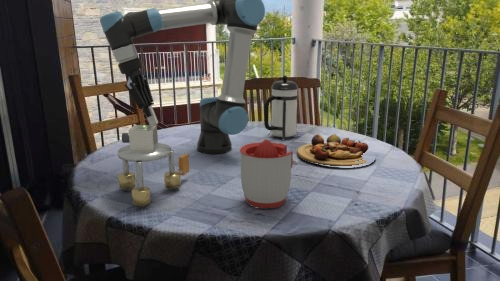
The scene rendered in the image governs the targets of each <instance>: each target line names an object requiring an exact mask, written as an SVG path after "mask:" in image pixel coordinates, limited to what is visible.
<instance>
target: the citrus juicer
mask: <svg viewBox="0 0 500 281" xmlns="http://www.w3.org/2000/svg"><path fill="white" fill-rule="evenodd" d="M239 150H240V151H239V152H240V181H241V186H242V187H241V188H242V191H243V196H244V198H245V201H246V203H247V204H248V205H249V204H250V205H249V206H251V205H252V206H251V207H253V206H254V207H253V208H255V207H258V208H257V209H262V208H271V209H276V208H279V207H282V206H283V205H284V204H285V202H286V200H287V198H288V193H289V190H290V187H291V180H292V179H291V178H292V168H293V166H298V162H297V161H295V160H294V158H293V152H294V150H292V151H291V150H290V151H288V146H287V145H286V144H283V143H280V142H279V143H278V142H271V141H270V140H269V139H264V140H263V141H261V142H252V143H247V144H244V145H242V146H241V147H240V149H239ZM283 203H284V204H283ZM282 204H283V205H282ZM275 207H276V208H275Z"/></svg>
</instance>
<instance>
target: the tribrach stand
mask: <svg viewBox="0 0 500 281" xmlns="http://www.w3.org/2000/svg"><path fill="white" fill-rule="evenodd" d="M158 138H159V137H158V124H155V125H150V124H134V125H133V126H132V127H131V128H130V129H129V130H128V132H122V134H121V142H122V143H125V144H128V145H125V146H122V147H121V148H119V149H118V150H117V157H118V158H119V159H121V160H122V161H121V162H122V170H123V172H120V173H119V174H117V178H118V187H119V189H122V190H125V192H130V191H131V199H132V205H133V206H138V208H139V209H143V208H145V207H146V206H147V205H149V204H150V203H151V202H152V200H151V188H150V187H149V186H145V183H144V173H143V172H144V170H143V162H150V161H157V160H162V159H164V158H167V157H168V156H169V155H170V154H171V150H172V147H171V146H170V145H169V144H167V143H162V142H159V139H158ZM129 162H134V163H135V171H136V172H132V171H130V165H129Z"/></svg>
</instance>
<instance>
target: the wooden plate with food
mask: <svg viewBox="0 0 500 281" xmlns="http://www.w3.org/2000/svg"><path fill="white" fill-rule="evenodd" d="M324 142H325V140H324V137H323V136H322V135H320V133H317V134H315V135H313V137H312V138H311V142H310V143H306V144H303V145H301V146H300V147H298V148H297V151H296V155H297V157H298V158H299V157H300V158H299V159H301V158H302V159H304V160H306V161H309V162H313V163H318V164H323V165H330V166H352V165H359V164H363V163H366V162H367V161H366V160H362V159H363V157H362V156H361V155H363V153H365V152H366V151H367V150H369V145H368V144H367V143H366V142H361V141H360V140H358V142H357V141H356V140H352V139H350V138H349V137H344V138H342V140H341V138H340V136H338V135H337V134H336V133H333V134H331V135H330V136H328V137H327V139H326V142H327V143H324ZM302 159H301V160H302ZM304 160H303V161H304ZM359 160H362V161H359ZM306 161H305V162H306ZM355 161H358V162H355Z"/></svg>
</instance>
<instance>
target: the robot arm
mask: <svg viewBox="0 0 500 281" xmlns="http://www.w3.org/2000/svg"><path fill="white" fill-rule="evenodd" d="M265 15H266V8H265V3H264V2H263V0H207V1H206V3H198V4H190V5H183V6H181V5H180V6H173V7H165V8H158V9H157V8H156V7H152V8H147V9H143V10H141V11H130V12H127V13H125V14H123V13H122V12H121V11H114V12H109V13H106V14H105V15H103V16H101V17H100V19H99V22H100V25H101V28H102V33H103V34H104V35H105V38H106V40H107V43H108V45H109V47H110V49H111V51H112V56H113V57H114V59H115V62H116V63H118V64H117V67H118V69H119V71H120V74H122V75H125V76H126V81H127V83H125V85H124V86H125V89H127V91H128V92H129V94H130V95H131V97H132V99H133V101H134V102H135V104H136V105H137V106H136V107H137V108H138V109H139V110H143V111H144V114H145V117H146V119H147V122H148V125H158V124H159V121H158V118H157V115H156V113H155V110H154V108H153V105H154V104H155V103H154V98H153V96H152V92H151V87H150V85H149V84H150V83H149V80H148V75H147V74H144V75H143V72H142V71H141V69H142V68H143V64H142V61H141V58H140V57H138V56H139V54H138V51H137V48H136V46H135V43H134V41H133V39H136V38H138V37H142V36H145V35H149V34H152V33H156V32H157V31H161V30H163V31H164V30H170V29H177V28H183V27H191V26H198V25H205V24H206V25H207V24H210V25H211V26H218V25H226V29H227V30H228V31H229V35H228V38H229V39H228V44H227V51H226V52H227V53H226V58H225V59H226V60H225V66H224V72H223V80H222V85H221V86H222V88H221V92H220V95H218V96H212V97H211V96H209V97H203V98H201V99H200V100H199V117H200V118H199V119H200V121H199V123H200V133H199V138H198V140H197V143H196V150H197V151H198V152H199V153H202V154H207V155H208V154H209V155H219V154H223V153H224V154H225V153H228V152H231V150H232V147H233V146H232V141H231V138H230V135H232V136H234V135H235V136H236V135H239V134H240V133H241V132H243V131H244V130H245V129H246V127H247V125H248V123H249V115H248V112H247V110H246V99H244V91H245V84H246V77H247V71H248V63H249V58H250V52H251V51H250V50H251V45H252V37H253V36H254V35H255V34H257V30H258V25H260V24H261V22H263V20H264V18H265Z"/></svg>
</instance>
